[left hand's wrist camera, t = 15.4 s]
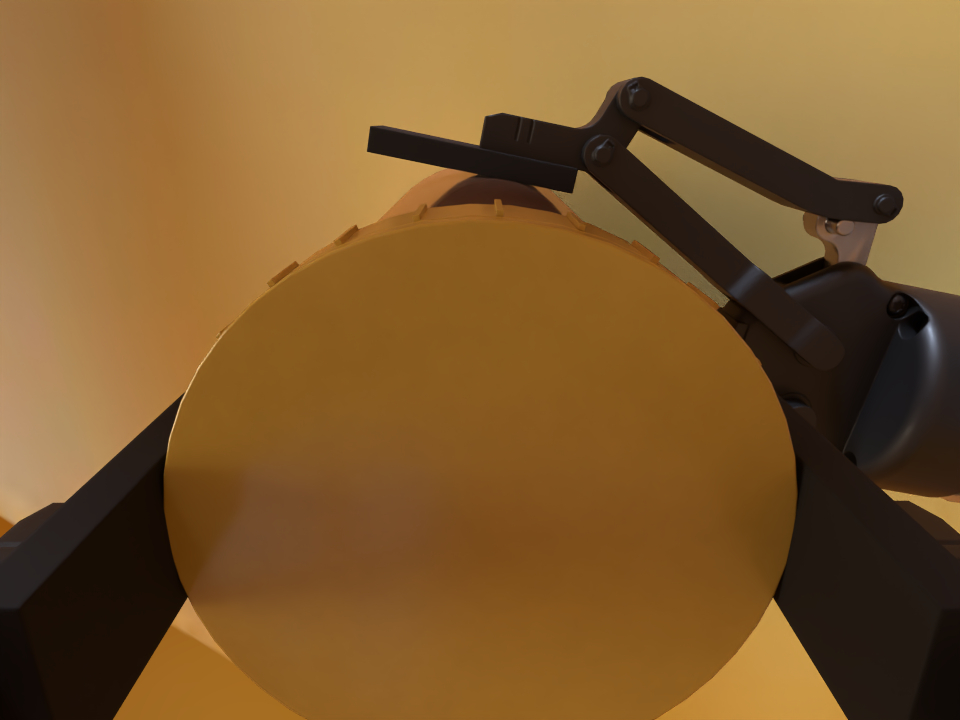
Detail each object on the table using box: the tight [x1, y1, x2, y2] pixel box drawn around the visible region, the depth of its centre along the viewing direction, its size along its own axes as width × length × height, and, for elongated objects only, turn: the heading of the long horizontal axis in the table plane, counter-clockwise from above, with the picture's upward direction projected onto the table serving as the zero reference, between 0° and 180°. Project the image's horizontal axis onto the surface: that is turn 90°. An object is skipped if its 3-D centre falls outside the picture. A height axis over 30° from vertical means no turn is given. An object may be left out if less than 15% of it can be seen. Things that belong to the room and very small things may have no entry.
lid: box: [164, 199, 798, 720], centre depth 11 cm, size 10×10×2 cm
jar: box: [377, 168, 583, 222], centre depth 20 cm, size 9×9×19 cm
